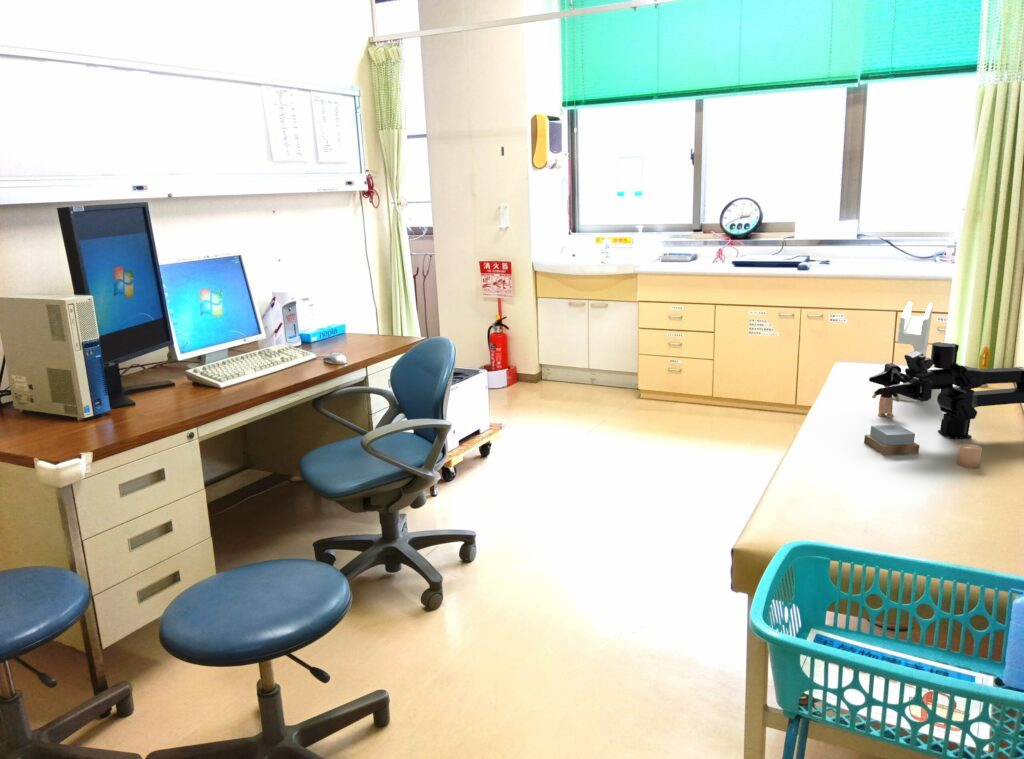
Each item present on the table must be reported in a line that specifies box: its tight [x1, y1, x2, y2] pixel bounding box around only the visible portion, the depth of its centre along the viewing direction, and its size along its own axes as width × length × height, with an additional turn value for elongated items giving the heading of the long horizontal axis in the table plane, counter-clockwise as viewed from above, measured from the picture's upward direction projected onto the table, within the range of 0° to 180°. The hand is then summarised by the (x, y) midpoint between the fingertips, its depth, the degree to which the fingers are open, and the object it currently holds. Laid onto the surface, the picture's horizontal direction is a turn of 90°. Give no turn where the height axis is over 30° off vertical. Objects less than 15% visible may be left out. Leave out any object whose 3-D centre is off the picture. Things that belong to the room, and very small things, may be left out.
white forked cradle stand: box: [892, 301, 934, 403], centre depth 265 cm, size 35×8×28 cm, turn 149°
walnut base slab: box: [863, 434, 920, 456], centre depth 211 cm, size 10×10×3 cm
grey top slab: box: [869, 424, 916, 445], centre depth 210 cm, size 8×8×3 cm
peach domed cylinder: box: [956, 443, 983, 469], centre depth 198 cm, size 5×5×5 cm
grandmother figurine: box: [871, 385, 900, 418], centre depth 237 cm, size 8×4×13 cm, turn 71°
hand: (878, 383), depth 214 cm, fingers open, 9 cm apart
